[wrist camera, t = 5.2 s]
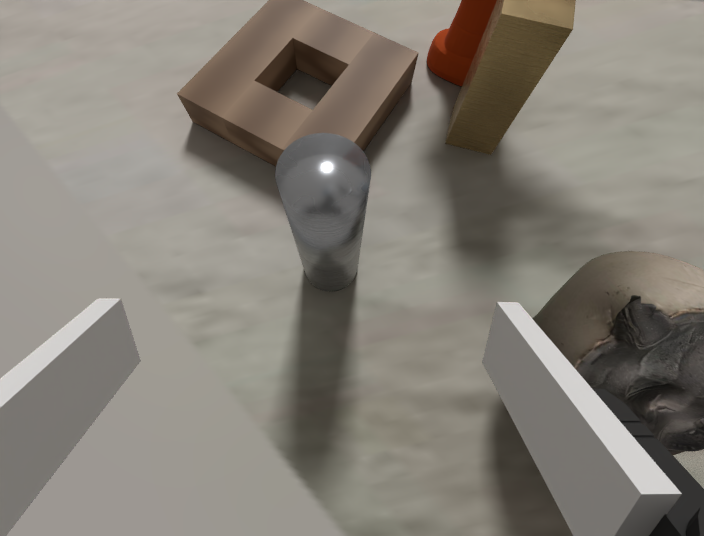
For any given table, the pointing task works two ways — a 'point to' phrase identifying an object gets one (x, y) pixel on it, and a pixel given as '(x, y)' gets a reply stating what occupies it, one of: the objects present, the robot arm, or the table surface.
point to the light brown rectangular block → (507, 69)
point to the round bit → (325, 205)
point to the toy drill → (460, 41)
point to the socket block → (281, 62)
